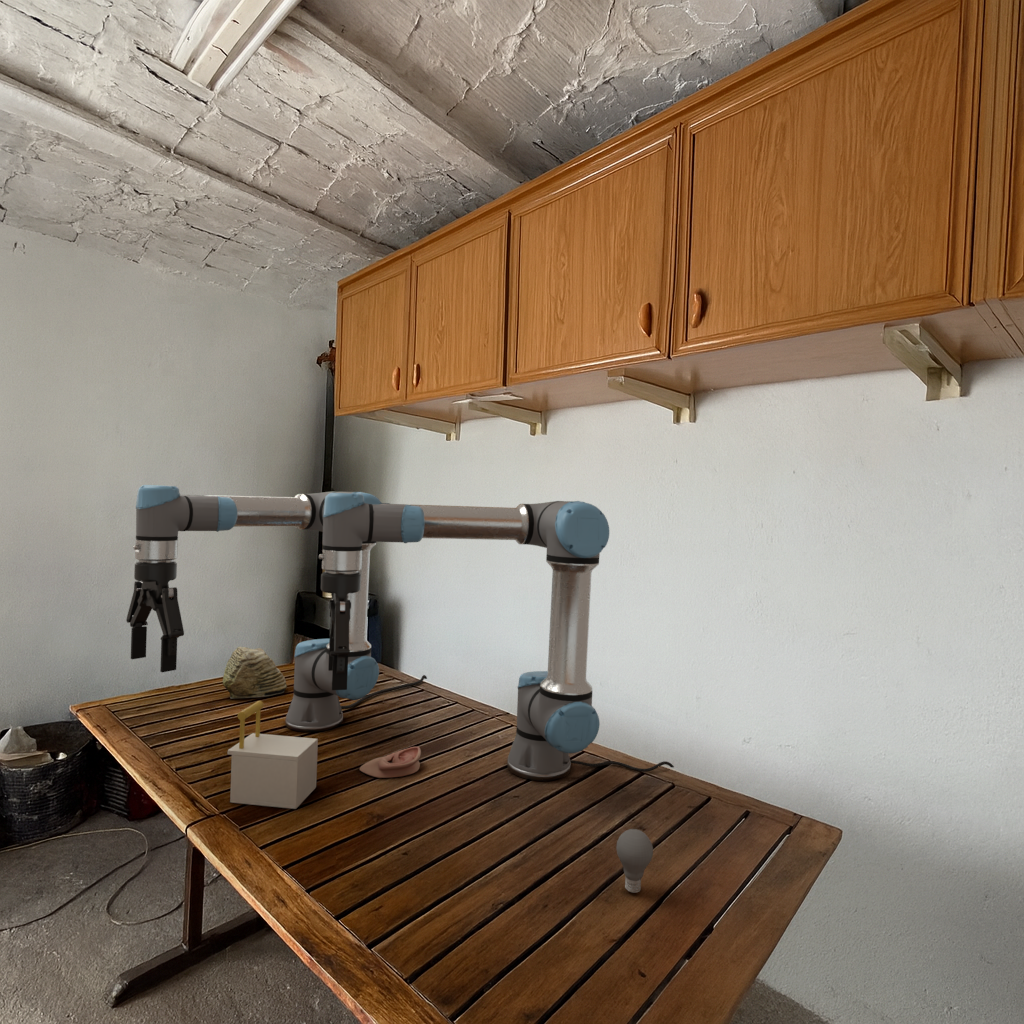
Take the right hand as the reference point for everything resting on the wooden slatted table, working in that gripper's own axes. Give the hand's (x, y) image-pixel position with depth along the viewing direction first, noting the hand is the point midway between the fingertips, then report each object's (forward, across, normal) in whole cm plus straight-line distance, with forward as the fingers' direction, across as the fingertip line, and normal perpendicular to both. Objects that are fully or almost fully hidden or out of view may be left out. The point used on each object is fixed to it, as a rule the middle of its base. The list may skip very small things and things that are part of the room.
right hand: (337, 679), depth 124 cm
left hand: (0, -17, -35) cm, 39 cm away
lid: (+18, -13, -11) cm, 25 cm away
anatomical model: (+28, -20, +14) cm, 37 cm away
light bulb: (+28, +36, +47) cm, 65 cm away
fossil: (+28, -84, -19) cm, 90 cm away
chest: (+28, -13, -11) cm, 33 cm away
